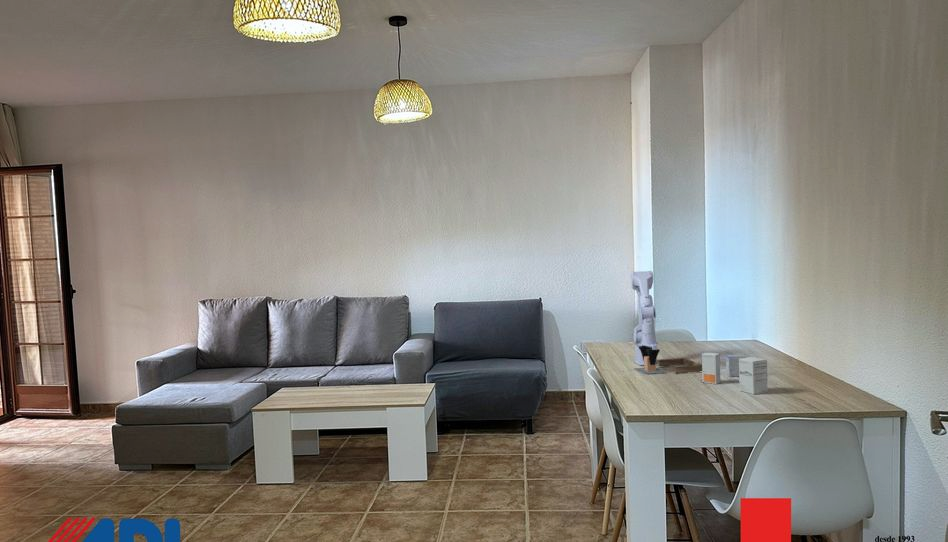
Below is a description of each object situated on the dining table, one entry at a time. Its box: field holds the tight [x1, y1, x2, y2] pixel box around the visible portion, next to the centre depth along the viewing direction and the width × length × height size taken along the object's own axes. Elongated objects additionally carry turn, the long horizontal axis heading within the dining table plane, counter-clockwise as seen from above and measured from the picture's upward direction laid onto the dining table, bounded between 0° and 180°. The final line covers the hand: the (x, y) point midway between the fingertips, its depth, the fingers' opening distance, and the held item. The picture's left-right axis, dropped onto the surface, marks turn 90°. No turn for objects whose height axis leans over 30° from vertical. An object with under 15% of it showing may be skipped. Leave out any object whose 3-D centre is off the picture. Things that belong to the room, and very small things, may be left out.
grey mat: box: [633, 367, 666, 375], centre depth 313 cm, size 13×10×1 cm
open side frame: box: [657, 357, 702, 374], centre depth 315 cm, size 19×13×3 cm
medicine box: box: [725, 354, 749, 378], centre depth 295 cm, size 8×4×9 cm, turn 84°
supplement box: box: [738, 356, 769, 395], centre depth 265 cm, size 7×7×13 cm
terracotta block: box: [643, 356, 657, 371], centre depth 313 cm, size 4×4×6 cm
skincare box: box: [701, 352, 721, 385], centre depth 284 cm, size 6×4×12 cm
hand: (649, 363), depth 313 cm, fingers open, 7 cm apart
